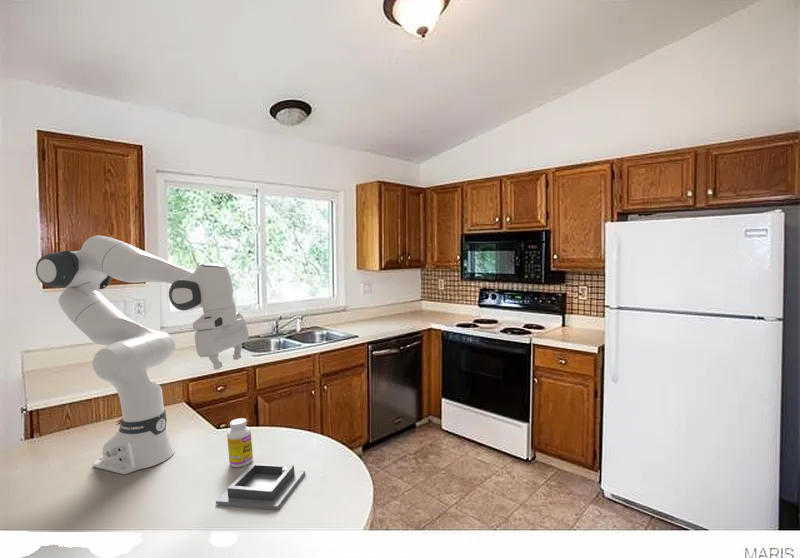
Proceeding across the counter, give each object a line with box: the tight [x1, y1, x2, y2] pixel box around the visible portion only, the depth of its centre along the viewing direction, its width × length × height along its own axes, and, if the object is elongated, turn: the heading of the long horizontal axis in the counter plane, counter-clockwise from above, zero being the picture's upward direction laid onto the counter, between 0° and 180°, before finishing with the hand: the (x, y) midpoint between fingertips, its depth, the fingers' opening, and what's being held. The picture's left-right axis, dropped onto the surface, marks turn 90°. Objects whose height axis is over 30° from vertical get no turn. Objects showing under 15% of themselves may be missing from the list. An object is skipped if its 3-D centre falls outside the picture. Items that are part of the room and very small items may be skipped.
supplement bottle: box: [226, 417, 254, 468], centre depth 126 cm, size 7×7×13 cm
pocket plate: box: [215, 462, 306, 511], centre depth 112 cm, size 17×16×4 cm
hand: (228, 363), depth 124 cm, fingers open, 8 cm apart
